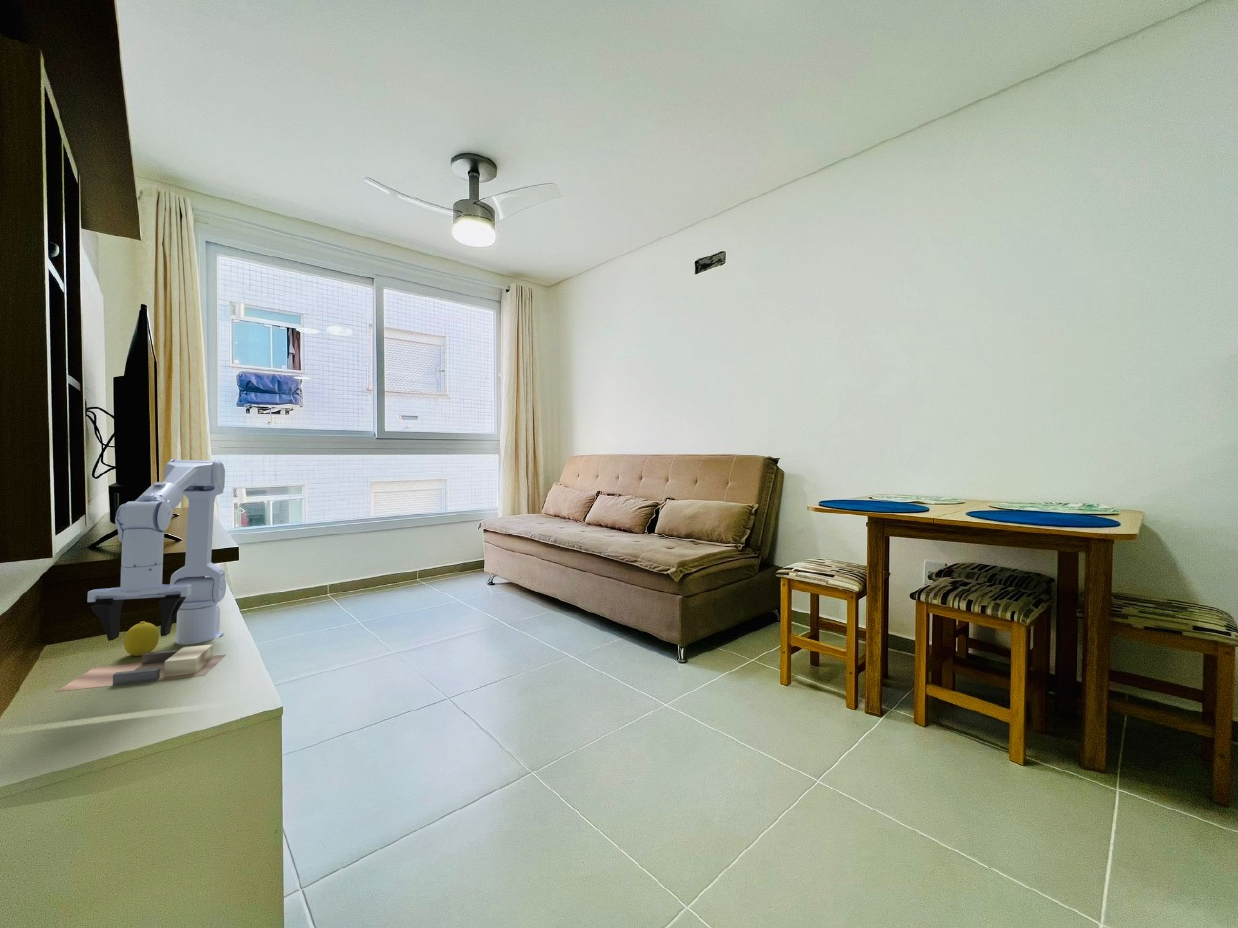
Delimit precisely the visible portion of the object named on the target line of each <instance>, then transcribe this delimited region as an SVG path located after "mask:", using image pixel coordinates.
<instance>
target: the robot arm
mask: <svg viewBox="0 0 1238 928" xmlns="http://www.w3.org/2000/svg"><path fill="white" fill-rule="evenodd" d="M163 476H164V477H163V478H164V479H163V480H162V481H155V482H154V483H153V484H151V485H150V486H149V487H148V488H147V489H146V490H145V491H144V492H143V493H142V494H141V495H139V497H138V498H137V499H135V500H133V501H127V502H126V503H123V504H121V505H119V507H118V509H117V511H116V513H115V514H116V515H115V517H114V518H115V519H114V521H115V528H116V530H117V533H118V535H117V537H118V538H117V539H118V541H119V542H121V558H120V560H121V564H120V565H121V566H120V586H118V587H110V588H108V587H107V588H98V589H97V588H96V589H92V590H88V591H87V599H86V600H87V603H94V604H93V605H91V611H93V613H94V614H95V616H96V617H97V618H98V619H99V621H100V622H101V625H102V627H103V628H104V632H105V634H106V637H107V641H114V640H115V639H117V638H119V636H120V631H121V629H120V627H121V623H120V622H121V621H120V619H121V612H122V607H123V603H124V600H133V599H134V600H135V599H136V600H137V599H149V598H150V599H151V598H153V599H155V598H162V599H159V601H158V606H159V610H160V612H159V613H160V629H159V630H160V631H159V632H160V634H159V635H160V637H166V636H168V635H169V634H171V630H172V626H173V623H174V621H175V618H176V628H175V629H176V633H175V634H176V635H175V644H176V645H182V646H183V645H196V644H200V643H201V644H202V643H204V642H205V643H206V642H208V641H211V640H214V639H216V638H217V639H218V638H221V636H223V635H224V634H225V632H224V631H220V626H221V623H220V620H221V608H220V606H219V605H218V603H220V602H221V601H222V600H223V599H224V598H225V595H226V592H227V581H226V573H225V570H224V569H223V568H221V567H220V566H218V565H216V564H214V563H213V562H212V549H213V532H214V531H213V529H214V516H215V515H214V514H215V513H214V512H215V501H216V497H217V496H219V495H221V494H223V493H224V491H225V490H224V489H225V483H226V482H225V481H226V469H225V466H224V463H223V462H222V461H221V460H217V459H215V460H200V459H199V460H197V459H196V460H195V459H175V458H172V459H169V461H168V462H166V464H165V467H164V471H163ZM183 496H185V497H186V498H187V500H188V508H187V522H186V523H187V524H186V525H187V526H186V541H185V543H186V544H185V545H186V546H185V560H184V566H182V567H180V568H179V569H177V570H176V571H174V572H173V573H172V574H171V576H170V582H169V584H163V573H164V572H163V567H164V565H163V564H164V544H165V543H164V540H165V539H164V537H165V531H167V529H168V528H169V526H170V524H171V521H172V520H171V519H172V518H173V514H174V513H173V511H174V510H175V509H176V508H177V507H178V506H179V504H180V503H181V502H182V501H183Z"/></svg>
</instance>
